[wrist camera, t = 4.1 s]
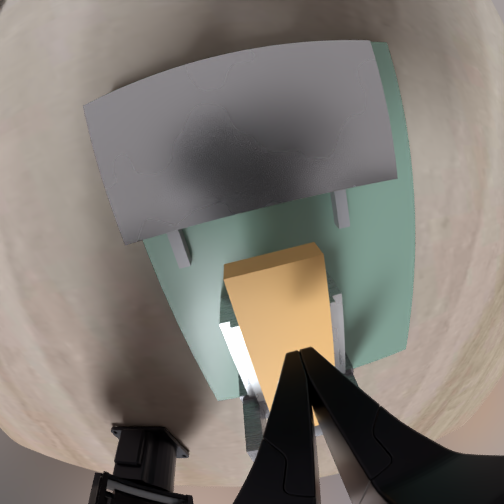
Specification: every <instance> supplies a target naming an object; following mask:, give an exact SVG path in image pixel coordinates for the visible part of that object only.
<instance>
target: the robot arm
mask: <svg viewBox="0 0 504 504" xmlns="http://www.w3.org/2000/svg"><path fill="white" fill-rule="evenodd" d="M312 407H313V409H312ZM313 411H314V413H315V416H316V418H317V421H318V423H319V426H320V428H321V430H322V433H323V435H324V438H325V440H326V442H327V445H328V447H329V450H330V452H331V454H332V457H333V459H334V462H335V464H336V466H337V469H338V471H339V473H340V476H341V478H342V480H343V483H344V485H345V488H346V490H347V492H348V495H349V497H350V499H351V501H352V504H504V456H497V455H496V456H495V455H474V454H463V453H458V452H454V451H452V450H449V449H447V448H445V447H443V446H441V445H440V444H438V443H436V442H434V441H432V440H431V439H429V438H427V437H425V436H424V435H422V434H420V433H419V432H417V431H415V430H413V429H412V428H410V427H409V426H407V425H406V424H404V423H402V422H401V421H400V420H398V419H397V418H396V417H394V416H393V415H392V414H390V413H389V412H388V411H387V410H386V409H384V408H383V407H382V406H380V405H379V404H378V403H377V402H376V401H375V400H373V399H372V398H371V397H370V396H369V395H367V394H366V393H365V392H364V391H363V390H361V389H360V388H359V387H358V386H357V385H356V384H354V383H353V382H352V381H351V380H350V379H348V378H347V377H346V376H345V375H344V374H343V373H342V372H340V371H339V370H338V369H337V368H336V367H335V366H333V365H332V364H331V363H330V362H329V361H328V360H327V359H325V358H324V357H323V356H322V355H321V354H320V353H319V352H317V351H316V350H315V349H314V348H313V347H307V348H303V349H300V350H299V351H298V350H295V351H291V352H288V353H286V355H285V358H284V362H283V366H282V370H281V374H280V378H279V381H278V385H277V389H276V392H275V396H274V400H273V403H272V407H271V410H270V414H269V417H268V421H267V424H266V427H265V431H264V434H263V439H262V440H261V443H260V446H259V450H258V452H257V455H256V458H255V461H254V463H253V466H252V468H251V470H250V472H249V474H248V476H247V478H246V480H245V482H244V484H243V486H242V488H241V490H240V492H239V493H238V495H237V497H236V499H235V501H234V502H233V504H321V496H320V482H319V468H318V456H317V445H316V435H315V425H314V416H313ZM111 432H112V433H113V434H114V435H115V436H116V437H117V438H118V439H119V442H118V446H117V451H116V455H115V459H114V462H115V466H114V471H113V475H111V474H109V473H108V472H105V471H104V472H103V474H102V473H95V476H94V480H93V485H92V489H91V493H90V498H89V503H88V504H193V497H192V496H191V495H183V494H178V493H173V491H174V477H175V465H176V458H188V457H189V453H188V452H187V451H186V450H185V449H184V448H183V447H182V446H181V445H180V444H179V442H178V441H177V440H176V439H175V438H174V437H173V436H172V435H171V434H170V433H169V432H168V431H167V429H165V428H163V427H112V428H111ZM106 488H107V489H110V490H112V491H113V493H111V492H108V491H106Z"/></svg>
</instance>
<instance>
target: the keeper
mask: <svg viewBox="0 0 504 504" xmlns="http://www.w3.org/2000/svg"><path fill="white" fill-rule="evenodd" d="M83 108H84V113H85V117H86V121H87V126H88V130H89V134H90V138H91V142H92V146H93V149H94V153H95V157H96V160H97V164H98V167H99V171H100V174H101V177H102V180H103V184H104V187H105V190H106V193H107V196H108V199H109V202H110V205H111V208H112V211H113V214H114V216H115V219H116V222H117V225H118V227H119V230H120V233H121V235H122V238H123V241H124V243H125V245H128V244H131V243H134V242H138V241H141V240H144V239H148V238H151V237H155V236H158V235H162V234H165V233H169V232H172V231H176V230H179V229H183V228H187V227H190V226H194V225H198V224H201V223H205V222H209V221H213V220H216V219H220V218H224V217H228V216H232V215H236V214H240V213H244V212H248V211H252V210H256V209H260V208H264V207H268V206H272V205H276V204H281V203H285V202H289V201H293V200H298V199H302V198H307V197H311V196H315V195H320V194H325V193H329V192H334V191H339V190H343V189H348V188H353V187H358V186H363V185H368V184H373V183H378V182H383V181H388V180H393V179H398V176H397V167H396V158H395V151H394V144H393V137H392V131H391V125H390V119H389V114H388V109H387V104H386V99H385V95H384V90H383V86H382V82H381V78H380V74H379V70H378V66H377V62H376V59H375V55H374V52H373V49H372V45H371V42H370V40H328V41H310V42H298V43H288V44H280V45H272V46H265V47H259V48H253V49H248V50H242V51H237V52H232V53H228V54H223V55H219V56H215V57H211V58H207V59H203V60H199V61H196V62H192V63H189V64H185V65H182V66H179V67H175V68H172V69H169V70H166V71H163V72H160V73H158V74H155V75H152V76H149V77H147V78H144V79H141V80H139V81H136V82H134V83H131V84H129V85H126V86H124V87H122V88H119V89H117V90H115V91H113V92H110V93H108V94H106V95H104V96H102V97H100V98H98V99H96V100H94V101H92V102H90V103H88V104H86V105H84V106H83Z"/></svg>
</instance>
